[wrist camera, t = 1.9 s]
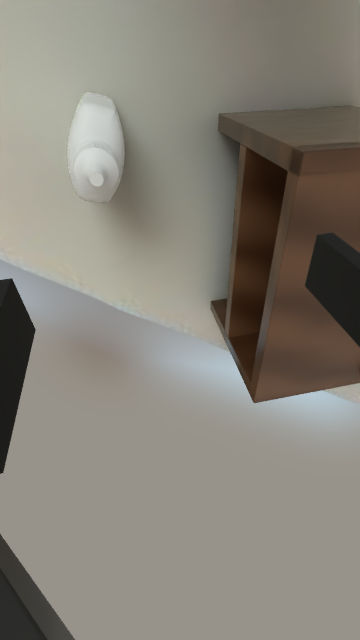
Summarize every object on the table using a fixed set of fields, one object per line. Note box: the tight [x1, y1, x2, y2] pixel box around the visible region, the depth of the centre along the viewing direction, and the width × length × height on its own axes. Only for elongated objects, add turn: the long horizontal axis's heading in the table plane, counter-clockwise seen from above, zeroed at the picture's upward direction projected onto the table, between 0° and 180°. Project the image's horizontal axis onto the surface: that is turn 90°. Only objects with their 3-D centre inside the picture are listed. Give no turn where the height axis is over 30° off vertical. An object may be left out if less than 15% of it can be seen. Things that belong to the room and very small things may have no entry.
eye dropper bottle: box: [67, 92, 125, 203], centre depth 21 cm, size 4×6×12 cm
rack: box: [211, 106, 360, 403], centre depth 27 cm, size 20×12×16 cm, turn 1°
